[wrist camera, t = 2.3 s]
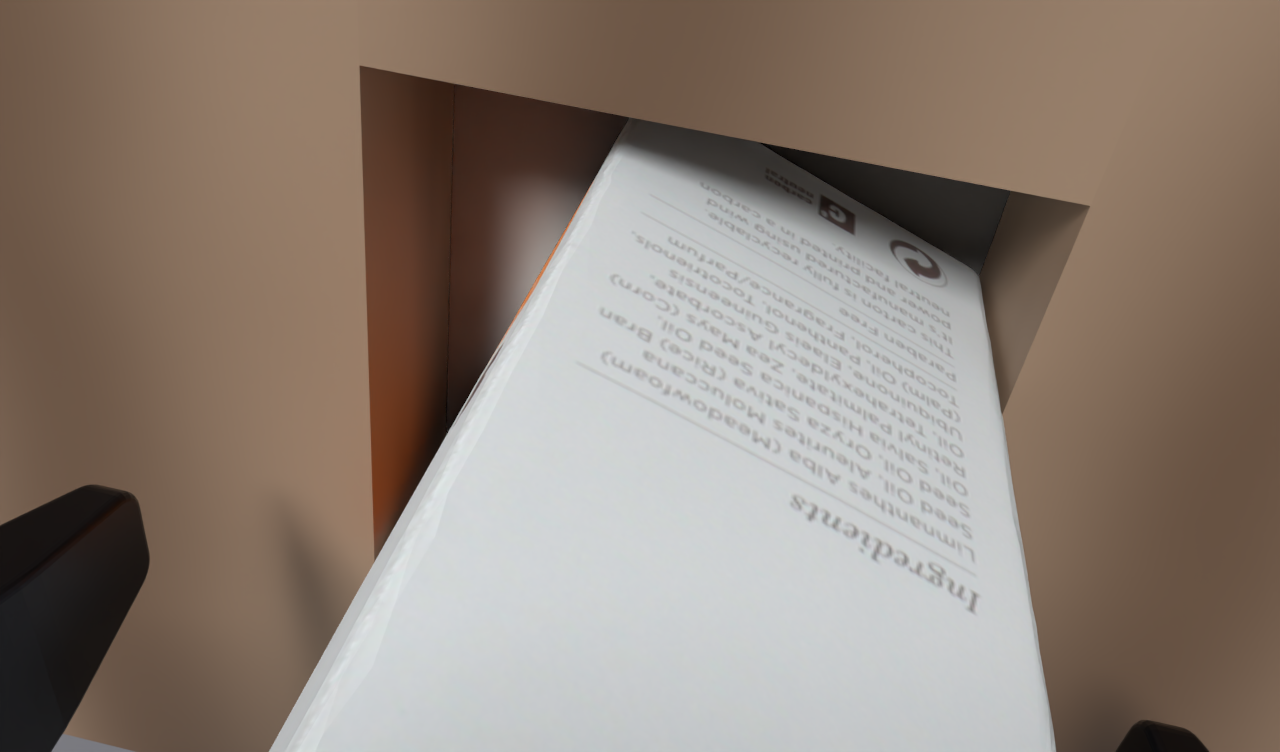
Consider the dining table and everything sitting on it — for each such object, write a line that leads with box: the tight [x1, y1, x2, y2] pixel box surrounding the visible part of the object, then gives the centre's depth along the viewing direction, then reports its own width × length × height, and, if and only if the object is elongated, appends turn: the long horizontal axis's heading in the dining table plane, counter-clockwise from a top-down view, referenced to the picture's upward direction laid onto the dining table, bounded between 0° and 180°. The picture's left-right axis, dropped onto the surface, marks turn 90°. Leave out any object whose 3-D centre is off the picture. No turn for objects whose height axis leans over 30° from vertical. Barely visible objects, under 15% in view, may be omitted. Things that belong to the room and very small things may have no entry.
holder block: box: [0, 0, 1280, 752], centre depth 12 cm, size 18×14×2 cm
